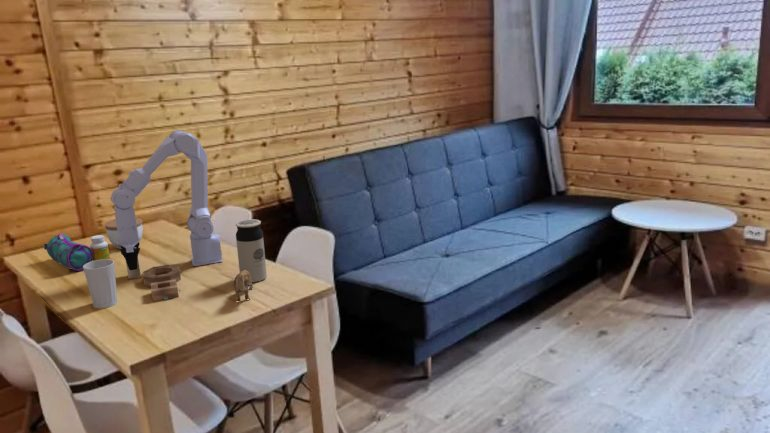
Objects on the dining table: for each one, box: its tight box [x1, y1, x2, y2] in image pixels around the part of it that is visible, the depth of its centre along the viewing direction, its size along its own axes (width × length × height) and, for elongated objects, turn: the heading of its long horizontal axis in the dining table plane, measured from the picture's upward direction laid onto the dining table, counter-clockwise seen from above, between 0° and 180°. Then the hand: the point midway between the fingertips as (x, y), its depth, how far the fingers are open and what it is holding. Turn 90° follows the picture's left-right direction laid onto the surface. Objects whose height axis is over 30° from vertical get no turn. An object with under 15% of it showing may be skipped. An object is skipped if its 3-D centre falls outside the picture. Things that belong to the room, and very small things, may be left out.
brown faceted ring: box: [142, 264, 182, 287], centre depth 186 cm, size 10×10×3 cm
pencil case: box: [43, 233, 93, 272], centre depth 203 cm, size 21×9×10 cm, turn 47°
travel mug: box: [235, 218, 268, 283], centre depth 183 cm, size 8×8×18 cm
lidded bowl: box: [104, 217, 144, 250], centre depth 221 cm, size 13×13×11 cm
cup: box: [83, 258, 119, 309], centre depth 169 cm, size 8×8×12 cm
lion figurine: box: [232, 270, 254, 302], centre depth 171 cm, size 15×5×9 cm, turn 14°
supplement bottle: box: [89, 234, 111, 261], centre depth 202 cm, size 5×5×10 cm
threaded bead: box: [150, 279, 179, 302], centre depth 175 cm, size 7×7×3 cm
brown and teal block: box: [125, 247, 141, 280], centre depth 190 cm, size 4×4×10 cm
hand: (133, 267), depth 190 cm, fingers closed on brown and teal block, 3 cm apart
